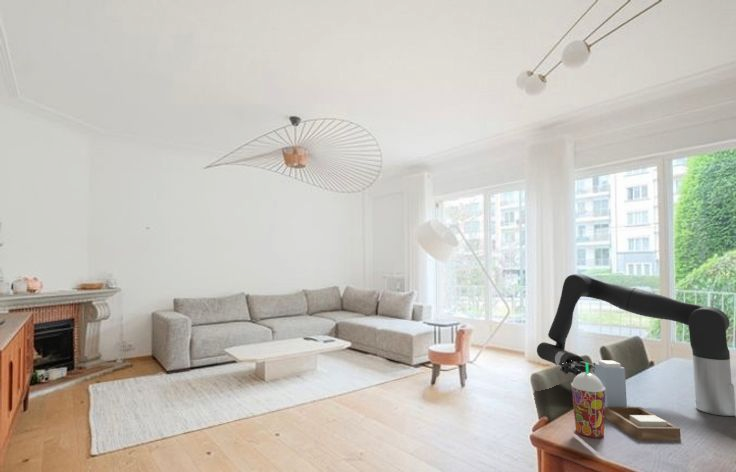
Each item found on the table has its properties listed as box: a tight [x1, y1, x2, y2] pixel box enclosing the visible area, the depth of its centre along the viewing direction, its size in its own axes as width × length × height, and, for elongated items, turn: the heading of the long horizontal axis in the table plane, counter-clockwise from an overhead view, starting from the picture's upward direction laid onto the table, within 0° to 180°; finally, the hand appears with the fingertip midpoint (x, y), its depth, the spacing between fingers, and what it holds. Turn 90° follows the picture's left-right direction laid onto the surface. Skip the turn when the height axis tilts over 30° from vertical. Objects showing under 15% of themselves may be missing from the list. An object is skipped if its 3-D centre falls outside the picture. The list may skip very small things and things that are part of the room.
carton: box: [594, 359, 628, 407], centre depth 125 cm, size 6×6×16 cm
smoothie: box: [570, 362, 605, 439], centre depth 109 cm, size 8×8×20 cm
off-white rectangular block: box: [630, 414, 668, 427], centre depth 108 cm, size 4×7×4 cm, turn 89°
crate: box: [604, 406, 682, 441], centre depth 112 cm, size 16×11×4 cm
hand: (592, 373), depth 136 cm, fingers open, 8 cm apart
